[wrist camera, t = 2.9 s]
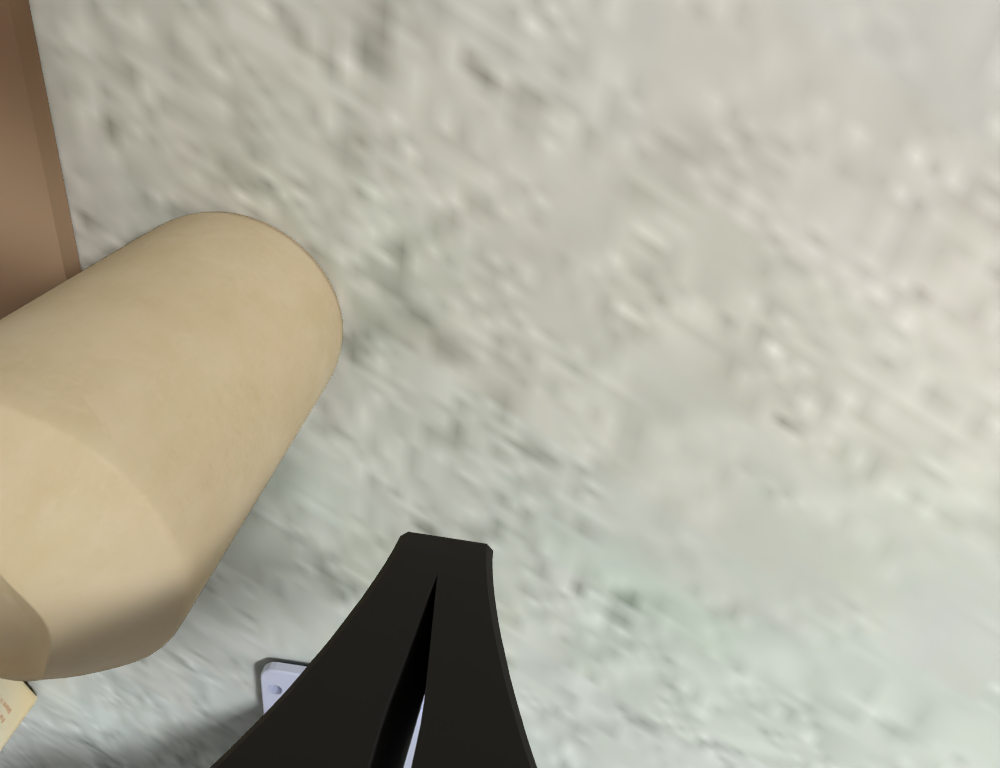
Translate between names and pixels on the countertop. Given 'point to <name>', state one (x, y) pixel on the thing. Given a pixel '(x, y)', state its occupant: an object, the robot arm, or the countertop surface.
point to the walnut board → (29, 172)
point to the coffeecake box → (13, 707)
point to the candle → (147, 432)
